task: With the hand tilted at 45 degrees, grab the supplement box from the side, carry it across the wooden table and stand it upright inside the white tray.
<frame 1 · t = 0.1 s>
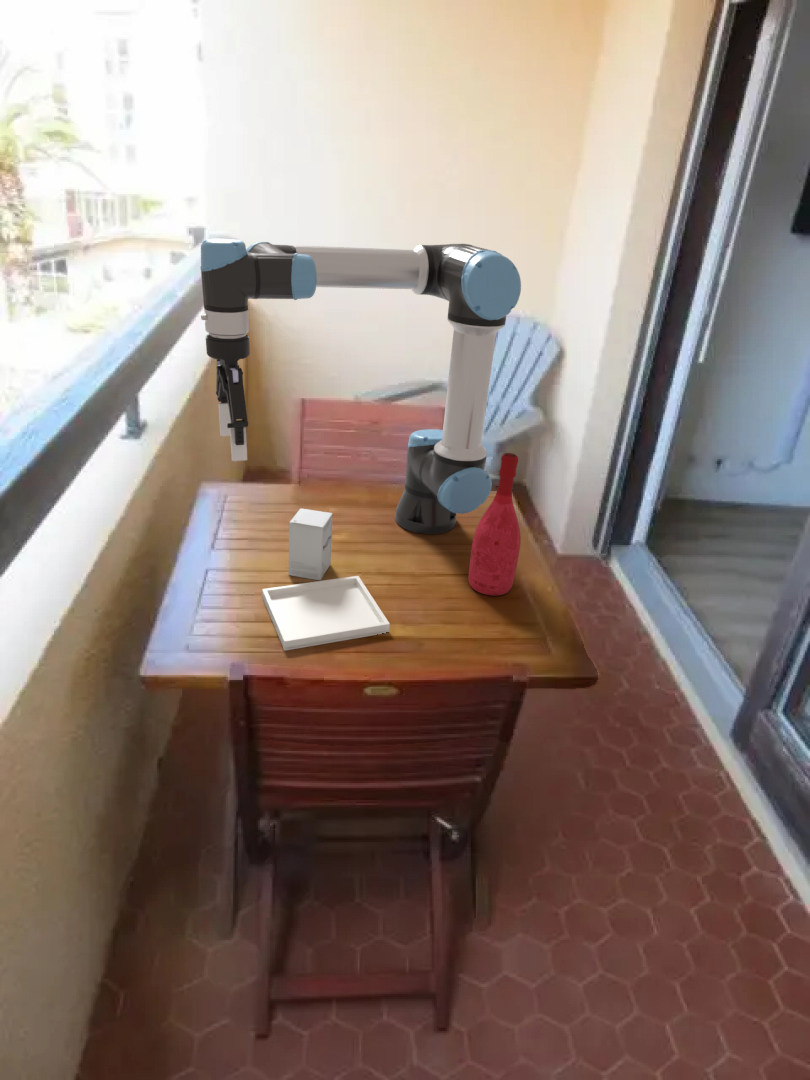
hand: (233, 447, 137), 28 cm above the table, tool pointing down, fingers open, 13 cm apart
wine bottle: (489, 586, 153), on the table
supplement box: (310, 570, 153), on the table
white tray: (324, 614, 138), on the table
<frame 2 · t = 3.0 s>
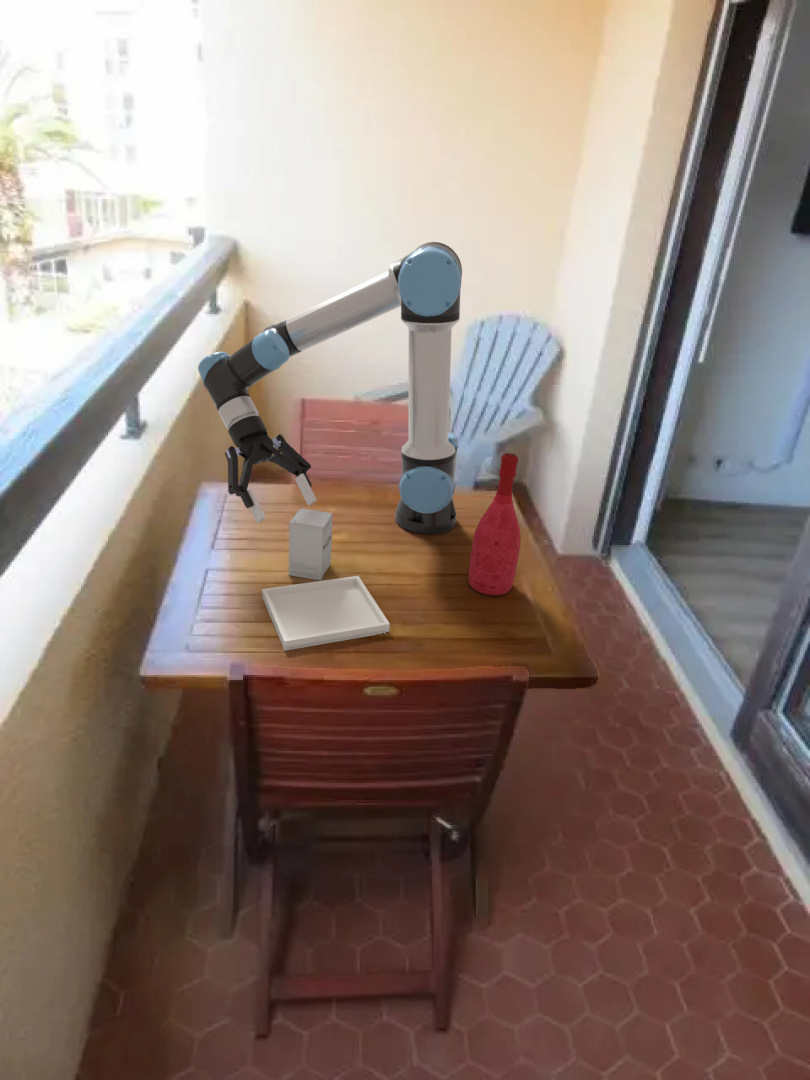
hand: (287, 511, 151), 12 cm above the table, tool tilted 45°, fingers open, 13 cm apart
nothing on the table moved.
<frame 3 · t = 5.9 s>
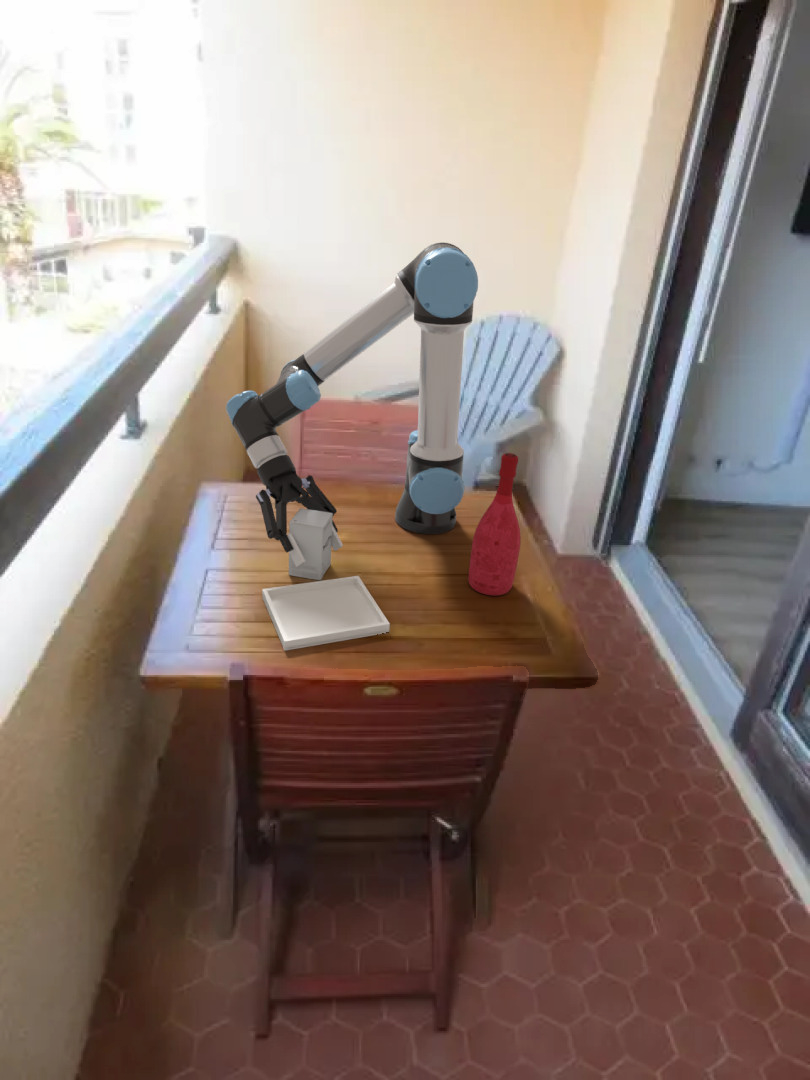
hand: (320, 556, 149), 5 cm above the table, tool tilted 45°, fingers closed on supplement box, 10 cm apart
supplement box: (310, 570, 153), on the table, touching gripper
everything else where it was.
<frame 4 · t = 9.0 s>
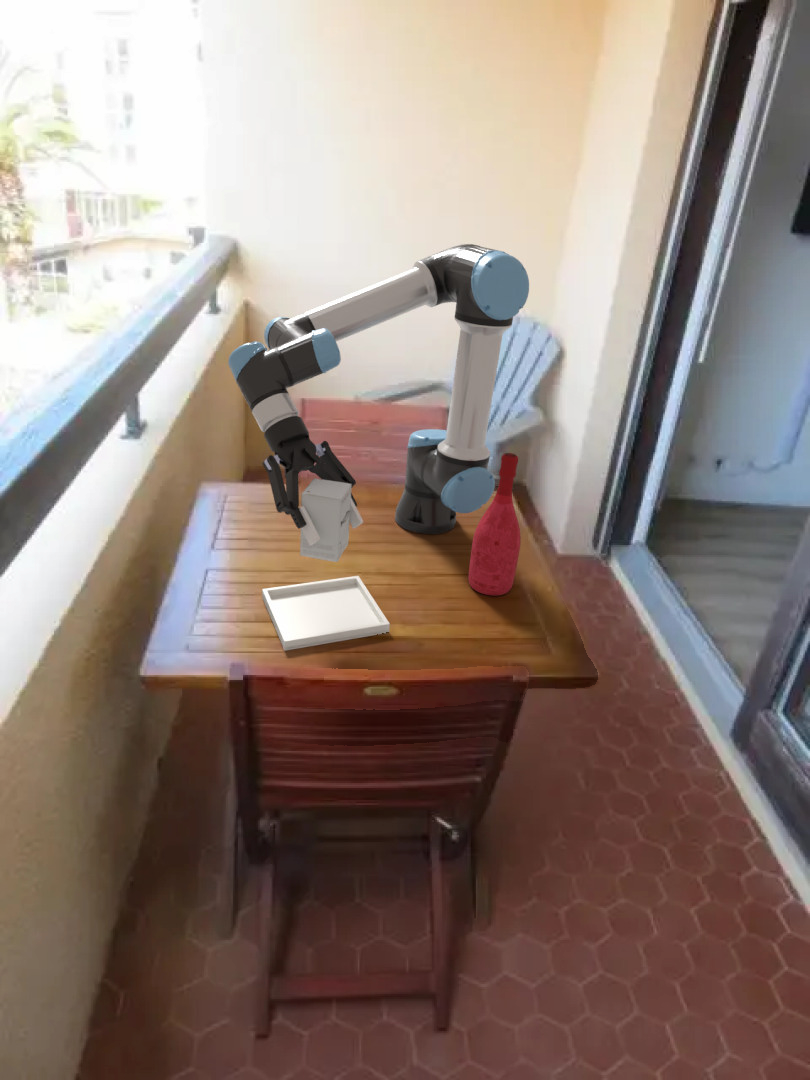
hand: (337, 533, 128), 19 cm above the table, tool tilted 45°, fingers closed on supplement box, 10 cm apart
supplement box: (324, 551, 132), point 14 cm above the table, touching gripper
everything else where it was.
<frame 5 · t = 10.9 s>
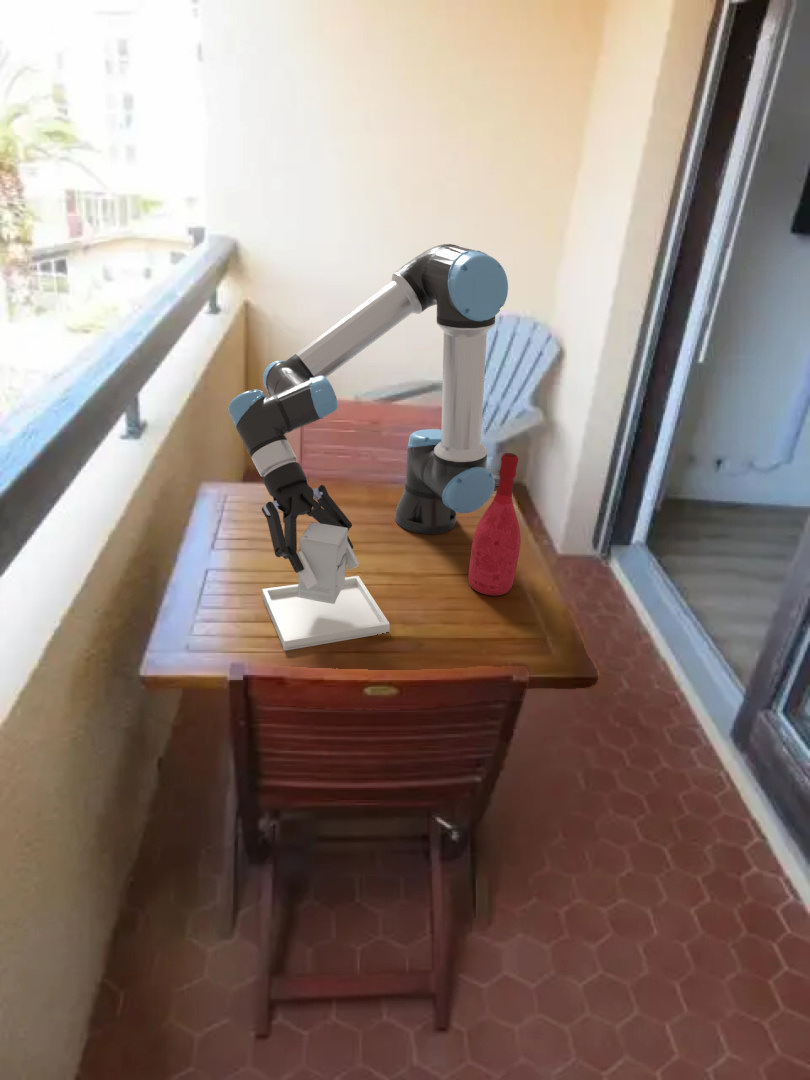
hand: (334, 576, 132), 10 cm above the table, tool tilted 45°, fingers closed on supplement box, 10 cm apart
supplement box: (321, 592, 136), point 5 cm above the table, touching gripper
everything else where it was.
when the fingers open (7 cm above the table, at t = 12.3 s): supplement box drops 1 cm, resting on white tray.
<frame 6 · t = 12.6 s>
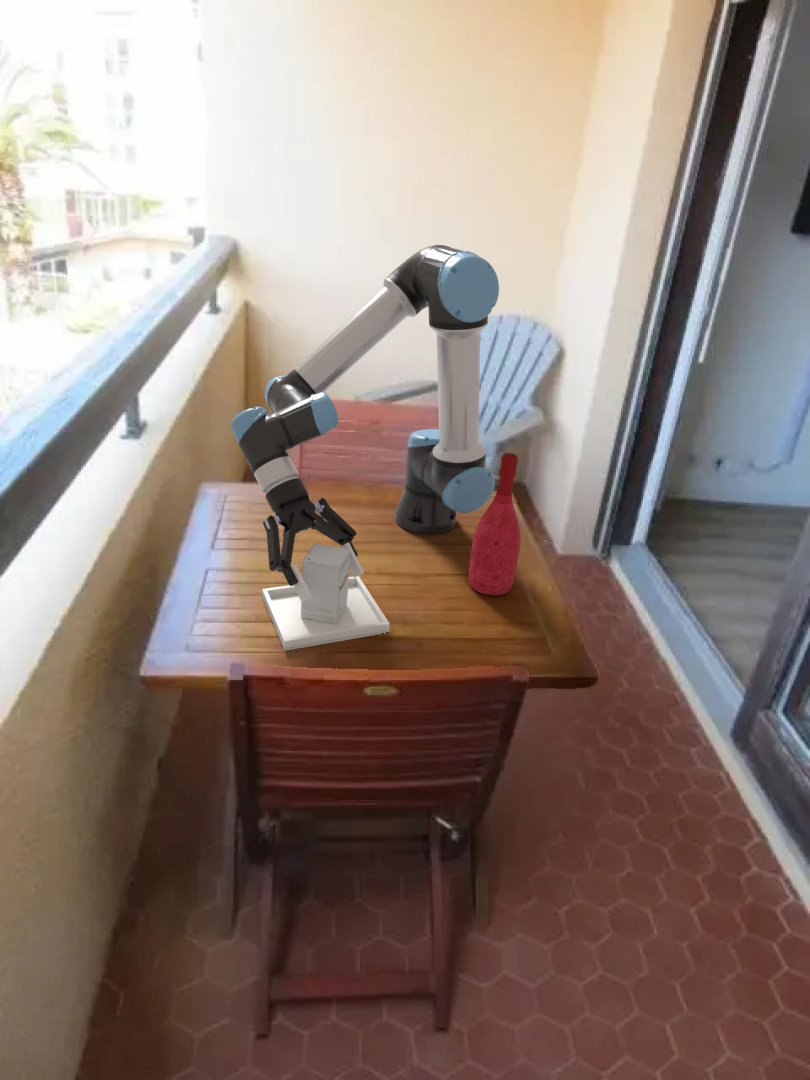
hand: (333, 587, 134), 7 cm above the table, tool tilted 45°, fingers open, 12 cm apart
supplement box: (324, 612, 138), resting on white tray
everything else where it was.
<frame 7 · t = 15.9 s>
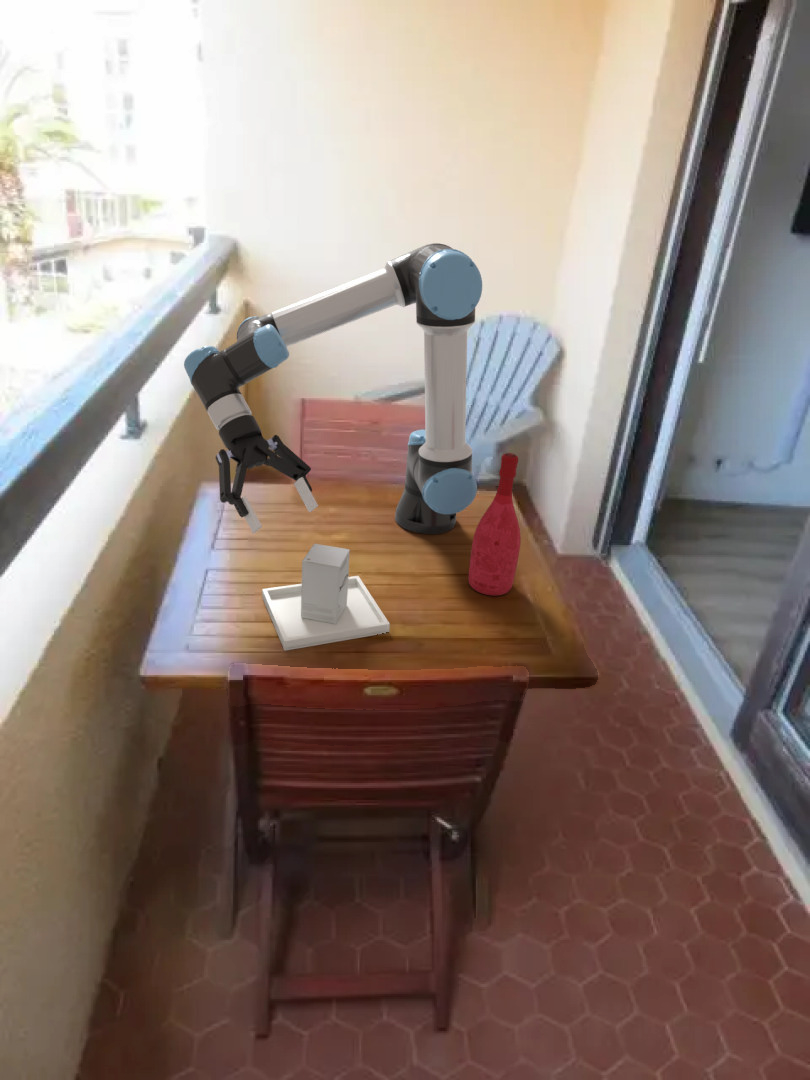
hand: (286, 519, 137), 16 cm above the table, tool tilted 45°, fingers open, 13 cm apart
nothing on the table moved.
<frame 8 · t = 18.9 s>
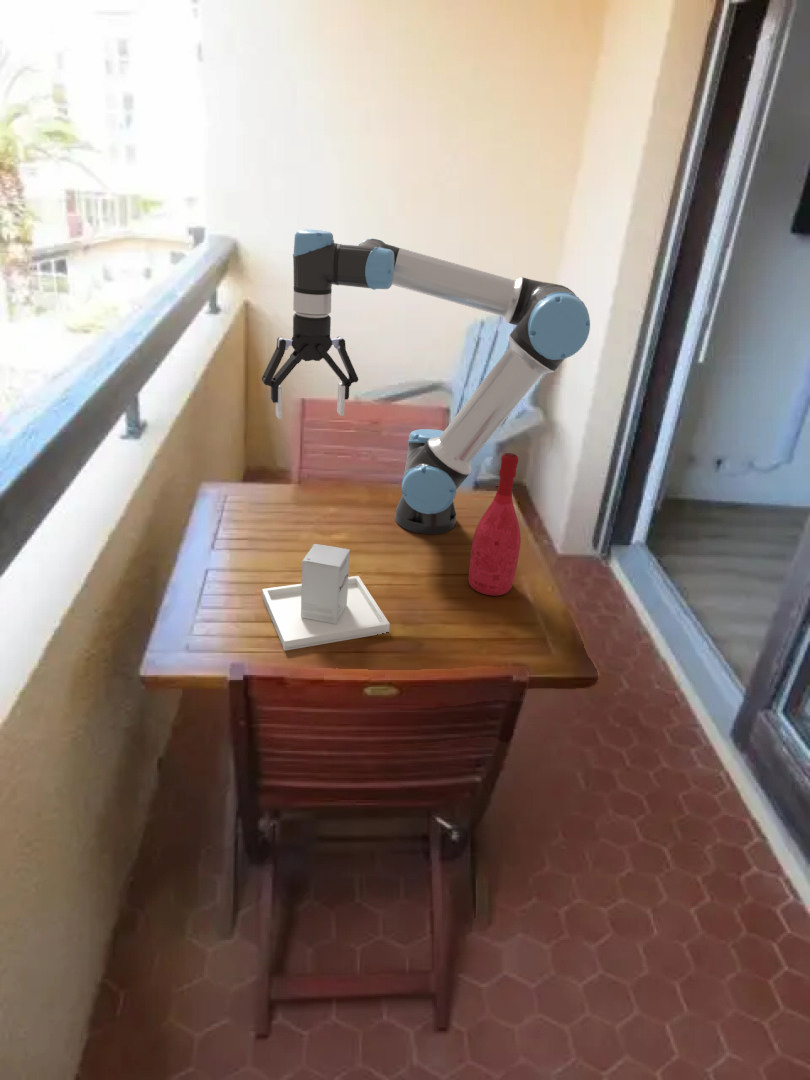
hand: (310, 415, 154), 29 cm above the table, tool pointing down, fingers open, 13 cm apart
nothing on the table moved.
at the end: supplement box inside the target area on the white tray (0.2 cm from its centre), point 0.4 cm above the white tray's base; supplement box tilted 0°; the gripper is holding nothing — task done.
